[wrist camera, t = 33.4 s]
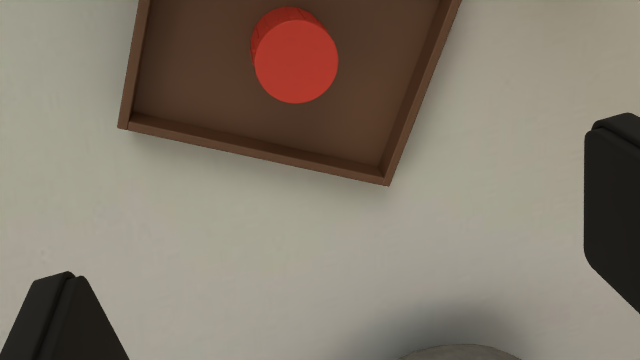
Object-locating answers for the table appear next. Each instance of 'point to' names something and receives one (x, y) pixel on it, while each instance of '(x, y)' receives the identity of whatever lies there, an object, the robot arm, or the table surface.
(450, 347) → the bowl
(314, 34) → the cap
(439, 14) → the tray
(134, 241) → the table surface
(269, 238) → the table surface
